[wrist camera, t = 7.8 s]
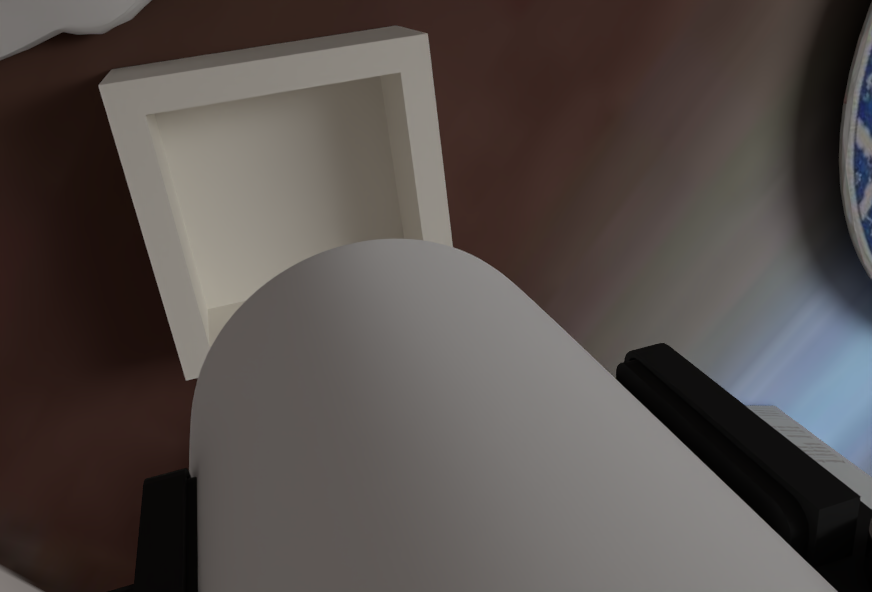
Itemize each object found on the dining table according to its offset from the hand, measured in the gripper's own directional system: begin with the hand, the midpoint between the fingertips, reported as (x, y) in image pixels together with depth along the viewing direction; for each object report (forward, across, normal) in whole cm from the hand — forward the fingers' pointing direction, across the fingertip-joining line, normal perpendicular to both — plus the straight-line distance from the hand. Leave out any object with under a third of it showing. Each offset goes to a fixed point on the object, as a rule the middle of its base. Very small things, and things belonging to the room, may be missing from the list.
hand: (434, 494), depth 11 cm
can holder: (+19, 0, 0) cm, 19 cm away
